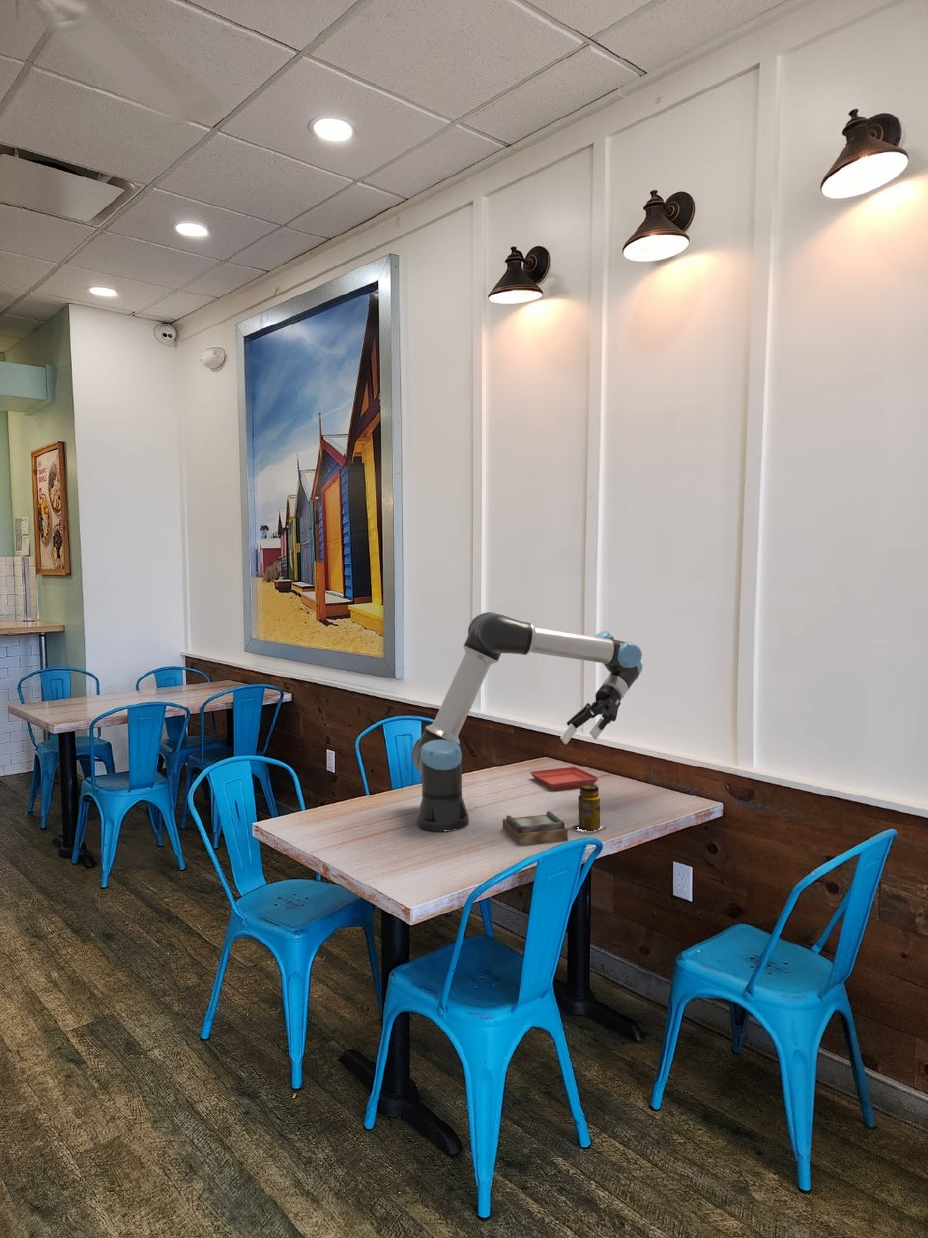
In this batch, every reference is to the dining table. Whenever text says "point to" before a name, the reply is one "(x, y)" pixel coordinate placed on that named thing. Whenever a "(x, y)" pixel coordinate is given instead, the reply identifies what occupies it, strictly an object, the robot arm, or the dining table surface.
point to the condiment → (588, 809)
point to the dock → (535, 829)
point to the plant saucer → (564, 778)
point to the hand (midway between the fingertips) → (577, 738)
